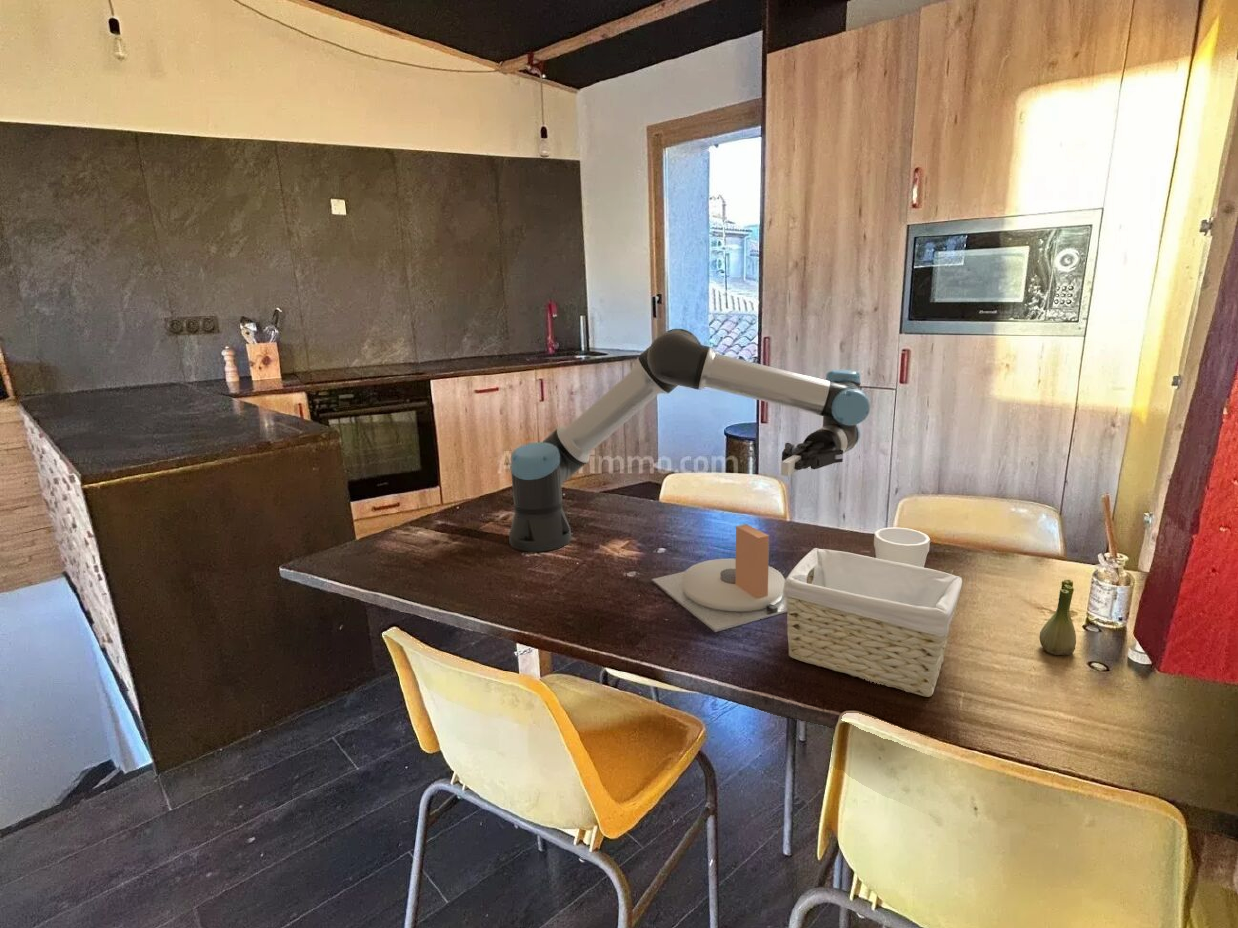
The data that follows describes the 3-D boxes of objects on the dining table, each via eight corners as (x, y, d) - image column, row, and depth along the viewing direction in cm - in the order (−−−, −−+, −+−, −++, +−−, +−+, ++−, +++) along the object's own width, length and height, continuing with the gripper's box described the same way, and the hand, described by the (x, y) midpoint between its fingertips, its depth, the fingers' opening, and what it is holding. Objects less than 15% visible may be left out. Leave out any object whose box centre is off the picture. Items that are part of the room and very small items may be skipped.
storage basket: (956, 656, 106) (965, 571, 102) (940, 709, 93) (950, 614, 89) (809, 620, 119) (812, 544, 115) (777, 662, 106) (780, 578, 102)
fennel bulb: (1058, 662, 103) (1069, 592, 100) (1028, 647, 107) (1038, 580, 104) (1082, 653, 105) (1093, 584, 102) (1052, 639, 110) (1062, 573, 106)
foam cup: (924, 593, 127) (930, 530, 124) (923, 615, 119) (930, 548, 116) (872, 586, 131) (876, 525, 128) (868, 606, 123) (872, 541, 120)
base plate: (651, 581, 137) (651, 575, 136) (747, 559, 146) (747, 553, 146) (715, 632, 115) (715, 625, 115) (821, 602, 125) (822, 595, 125)
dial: (664, 579, 135) (663, 515, 132) (745, 560, 143) (746, 499, 140) (718, 620, 118) (718, 547, 114) (806, 596, 126) (809, 528, 122)
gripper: (853, 465, 143) (816, 492, 125) (795, 457, 151) (752, 482, 132) (855, 432, 141) (819, 454, 123) (797, 425, 149) (754, 446, 130)
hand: (784, 469), depth 128 cm, fingers closed
